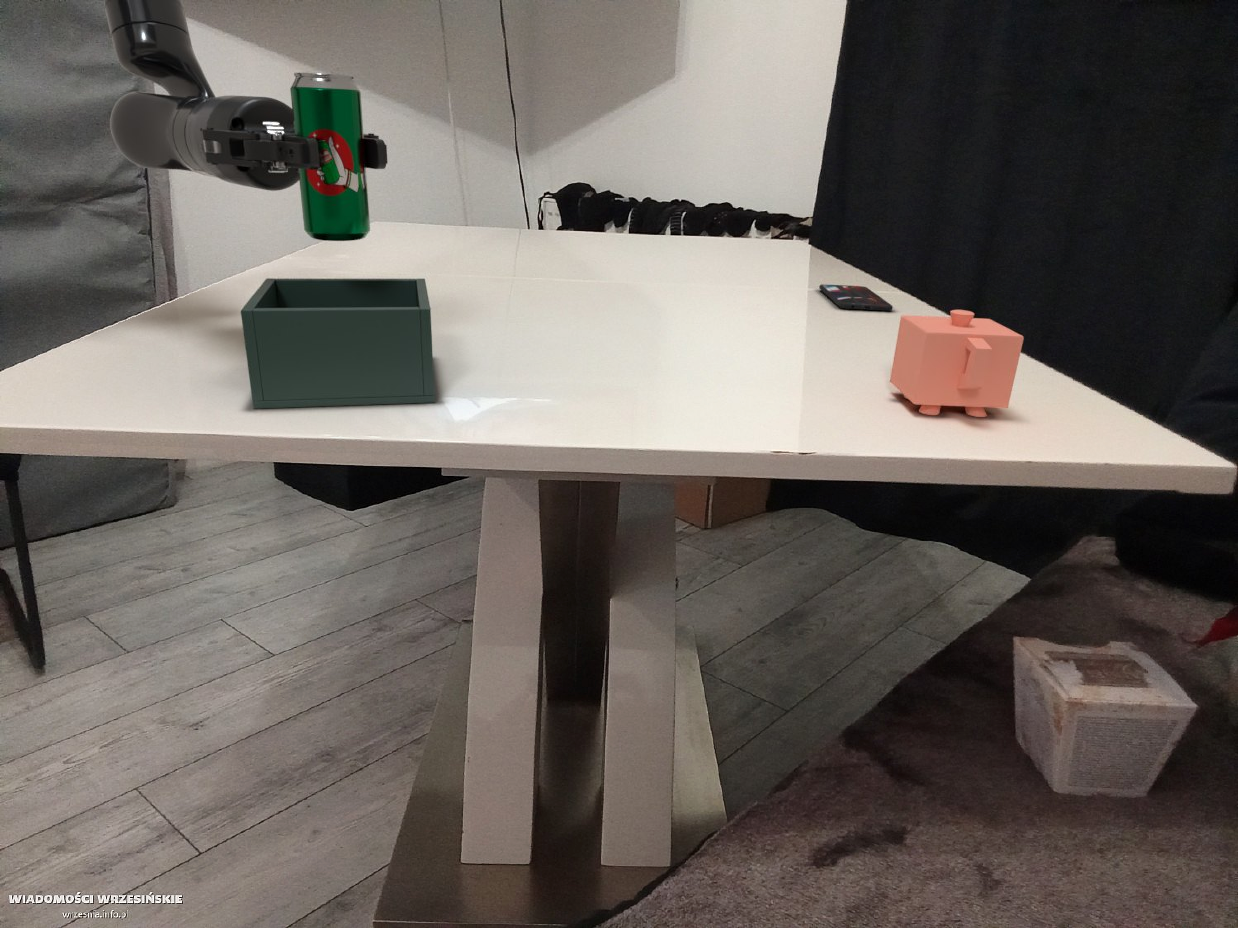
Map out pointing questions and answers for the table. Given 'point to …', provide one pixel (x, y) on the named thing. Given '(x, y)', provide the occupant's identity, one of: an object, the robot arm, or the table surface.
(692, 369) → the table surface
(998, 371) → the pink cube teapot
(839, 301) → the smartphone
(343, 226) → the soda can
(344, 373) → the bin
